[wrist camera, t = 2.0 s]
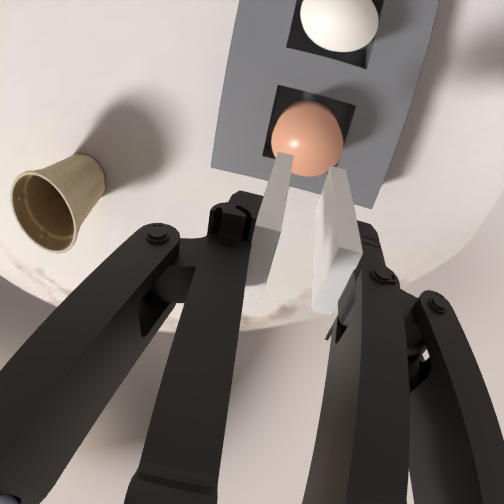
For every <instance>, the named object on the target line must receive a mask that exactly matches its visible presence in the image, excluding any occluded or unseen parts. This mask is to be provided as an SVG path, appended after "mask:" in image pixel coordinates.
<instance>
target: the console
mask: <svg viewBox="0 0 504 504" xmlns="http://www.w3.org/2000/svg"><path fill="white" fill-rule="evenodd" d="M303 1H304V0H239V5H238V10H237V15H236V19H235V24H234V30H233V35H232V40H231V45H230V50H229V56H228V61H227V67H226V73H225V78H224V84H223V90H222V96H221V102H220V108H219V114H218V121H217V127H216V134H215V141H214V147H213V154H212V161H211V168H215V169H219V170H224V171H228V172H233V173H237V174H242V175H246V176H250V177H254V178H258V179H263V180H267V181H269V178H270V175H271V172H272V169H273V166H274V162H275V159H276V157H275V156H274V153H273V150H272V145H271V139H272V133H273V130H274V128H275V126H276V124H277V121H278V119H279V117H280V115H281V113H282V112H283V110H284V109H285V108H286V107H287V106H289V105H290V104H292V103H294V102H296V101H300V100H314V101H318V102H320V103H322V104H324V105H326V106H327V107H328V108H329V109H330V110H331V111H332V112H333V113H334V115H335V117H336V119H337V121H338V124H339V127H340V130H341V134H342V137H343V151H342V154H341V157H340V159H339V161H338V162H337V163H336V165H335V166H334V167H337V168H341V169H344V170H346V173H347V178H348V182H349V186H350V191H351V195H352V200H353V204H355V205H359V206H362V207H366V208H369V209H372V208H373V205H374V203H375V200H376V198H377V196H378V193H379V191H380V188H381V185H382V183H383V180H384V178H385V175H386V173H387V170H388V167H389V165H390V162H391V159H392V157H393V154H394V151H395V148H396V146H397V143H398V140H399V137H400V134H401V132H402V129H403V126H404V123H405V120H406V117H407V114H408V111H409V108H410V105H411V102H412V99H413V95H414V92H415V89H416V86H417V83H418V79H419V76H420V72H421V69H422V66H423V62H424V59H425V55H426V51H427V48H428V44H429V40H430V36H431V32H432V28H433V24H434V20H435V16H436V12H437V7H438V3H439V0H371V1H372V2H373V4H374V6H375V8H376V10H377V14H378V29H377V32H376V34H375V36H374V38H373V39H372V40H371V41H370V42H369V43H368V44H367V45H366V46H364V47H362V48H360V49H358V50H355V51H350V52H337V51H330V50H327V49H324V48H322V47H320V46H318V45H316V44H315V43H314V42H313V41H312V40H311V39H310V38H309V37H308V36H307V34H306V32H305V30H304V28H303V25H302V21H301V16H300V11H301V6H302V3H303ZM327 174H328V171H327V172H326V173H323V174H321V175H317V176H310V177H307V176H300V175H296V174H294V173H291V177H290V183H289V186H290V187H294V188H298V189H302V190H306V191H309V192H313V193H317V194H320V195H321V193H322V190H323V187H324V184H325V181H326V177H327Z"/></svg>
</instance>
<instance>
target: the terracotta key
mask: <svg viewBox="0 0 504 504" xmlns="http://www.w3.org/2000/svg"><path fill="white" fill-rule="evenodd" d="M271 145H272V150H273V153H274V156H275V157H276V156H277V153H278V152H282V153H286V154H290V155H294V159H293V165H292V171H291V173H294V174H296V175H300V176H307V177H310V176H317V175H321V174H323V173H326V172H327V171H329V168H330V165H331V166H335V165H336V163H337V162H338V161H339V159H340V157H341V154H342V151H343V137H342V134H341V130H340V127H339V124H338V121H337V119H336V117H335V115H334V113H333V112H332V111H331V110H330V109H329V108H328V107H327V106H326V105H324V104H322V103H320V102H318V101H314V100H300V101H296V102H294V103H292V104H290V105H289V106H287V107H286V108H285V109H284V110H283V112H282V113H281V115H280V117H279V119H278V121H277V124H276V126H275V128H274V130H273V133H272V139H271Z"/></svg>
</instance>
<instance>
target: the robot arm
mask: <svg viewBox="0 0 504 504" xmlns="http://www.w3.org/2000/svg"><path fill="white" fill-rule="evenodd" d="M293 159H294V155H290V154H286V153H282V152H278V153H277V156H276V159H275V162H274V166H273V169H272V172H271V175H270V178H269V182H268V185H267V188H266V191H265V194H264V196H261V195H257V194H253V193H249V192H244V191H238V192H236V193H235V194H233V195H232V196H231V198H230V200H229V202H226V203H219V204H217V205H215V206H213V207H212V209H211V210H210V216H209V224H208V232H207V236H205V237H202V238H194V239H187V238H180V234H179V232H178V231H177V230H176V228H174V227H172V226H170V225H168V224H163V223H151V224H148V225H144V226H143V227H141V228H139V229H138V230H137V231H136V232H135V233H134V234H133V235H131V236H130V237H129V238H128V239H127V240H126V241H125V242H124V243H123V244H122V245H120V246H119V247H118V248H117V249H116V250H115V251H114V252H113V253H112V254H111V255H110V256H109V257H108V258H107V259H105V260H104V261H103V262H102V263H101V264H100V265H99V266H98V267H97V268H96V269H95V270H94V271H93V272H92V273H91V274H90V275H89V276H88V277H87V278H86V279H85V280H84V281H83V282H82V283H81V284H80V285H79V286H78V287H77V288H76V289H75V290H74V291H73V292H72V293H71V294H70V295H69V296H68V297H67V298H66V299H65V300H64V301H63V302H62V303H61V304H60V305H59V306H58V307H57V308H56V309H55V310H54V311H53V312H52V314H50V316H49V317H48V318H47V319H46V320H45V321H44V322H43V323H42V324H41V325H40V326H39V327H38V329H37V330H36V331H35V332H34V333H33V334H32V335H31V336H30V337H29V338H28V340H27V341H26V342H25V343H24V344H23V345H22V346H21V347H20V349H19V350H18V351H17V352H16V353H15V354H14V355H13V357H12V358H11V359H10V360H9V361H8V362H7V364H6V365H5V366H4V367H3V368H2V370H1V371H0V504H40V502H41V501H42V500H43V499H44V498H45V497H46V496H47V494H48V493H49V492H50V490H51V489H52V488H53V486H54V485H55V484H56V482H57V480H58V479H59V477H60V476H61V474H62V472H63V471H64V469H65V468H66V466H67V465H68V463H69V462H70V460H71V458H72V457H73V455H74V454H75V452H76V451H77V449H78V447H79V446H80V445H81V443H82V441H83V440H84V438H85V437H86V435H87V434H88V432H89V431H90V429H91V428H92V426H93V425H94V423H95V422H96V420H97V418H98V417H99V415H100V414H101V413H102V411H103V410H104V408H105V406H106V405H107V404H108V402H109V401H110V399H111V398H112V396H113V395H114V393H115V392H116V390H117V389H118V387H119V386H120V384H121V383H122V381H123V380H124V379H125V377H126V376H127V374H128V373H129V371H130V370H131V368H132V367H133V366H134V364H135V362H136V361H137V360H138V358H139V357H140V355H141V354H142V352H143V351H144V350H145V348H146V347H147V345H148V344H149V342H150V341H151V340H152V338H153V337H154V335H155V334H156V332H157V331H158V330H159V328H160V327H161V325H162V324H163V323H164V321H165V320H166V318H167V317H168V315H169V314H170V313H171V311H172V310H173V308H174V307H175V305H176V303H184V307H183V310H182V313H181V316H180V320H179V323H178V326H177V329H176V333H175V336H174V340H173V343H172V346H171V349H170V353H169V356H168V360H167V364H166V367H165V370H164V374H163V377H162V381H161V384H160V388H159V392H158V395H157V399H156V402H155V406H154V410H153V413H152V417H151V421H150V425H149V429H148V432H147V437H146V441H145V444H144V448H143V452H142V456H141V460H140V464H139V467H138V469H137V471H136V473H135V474H134V476H133V477H132V479H131V482H130V484H129V486H128V490H127V493H126V497H125V501H124V504H217V497H218V496H217V495H218V494H217V487H218V477H219V469H220V463H221V455H222V448H223V441H224V434H225V427H226V420H227V412H228V405H229V398H230V391H231V384H232V376H233V369H234V362H235V355H236V348H237V341H238V334H239V327H240V320H241V313H242V306H243V299H244V294H246V295H250V296H254V297H258V298H262V296H263V292H264V289H265V285H266V282H267V278H268V275H269V272H270V268H271V265H272V261H273V258H274V254H275V251H276V247H277V244H278V240H279V237H280V233H281V229H282V223H283V217H284V212H285V206H286V200H287V194H288V189H289V183H290V177H291V171H292V165H293ZM337 305H338V316H337V317H336V319H335V321H334V323H333V325H332V326H331V328H330V330H329V332H328V334H327V336H326V338H325V340H328V339H329V337H330V336H331V335H332V336H331V344H330V352H329V360H328V367H327V375H326V382H325V388H324V395H323V401H322V407H321V413H320V419H319V425H318V430H317V436H316V441H315V446H314V452H313V456H312V461H311V466H310V471H309V476H308V480H307V485H306V489H305V493H304V498H303V502H302V504H407V502H406V501H407V500H406V498H407V486H408V471H409V472H410V478H411V484H412V490H413V498H414V504H504V440H503V436H502V433H501V429H500V426H499V423H498V420H497V416H496V413H495V411H494V408H493V404H492V401H491V399H490V396H489V393H488V390H487V387H486V385H485V382H484V379H483V377H482V374H481V372H480V369H479V367H478V364H477V362H476V359H475V357H474V354H473V352H472V350H471V347H470V345H469V343H468V341H467V338H466V336H465V334H464V331H463V329H462V327H461V325H460V323H459V321H458V319H457V317H456V314H455V312H454V310H453V308H452V306H451V305H450V303H449V302H448V300H446V299H445V298H444V296H442V295H441V294H439V293H437V292H434V291H431V290H427V291H424V292H422V294H421V295H420V296H419V298H416V297H414V296H413V295H411V294H409V293H407V292H405V291H403V290H402V289H400V283H399V280H398V278H397V276H396V275H395V274H394V272H393V271H391V270H390V269H389V268H387V267H386V265H385V261H384V257H383V253H382V249H381V245H380V242H379V237H378V233H377V232H376V230H375V229H374V228H373V226H372V225H371V224H368V223H365V222H361V221H358V220H357V219H356V214H355V209H354V205H353V200H352V195H351V191H350V186H349V182H348V178H347V173H346V170H344V169H341V168H337V167H334V166H331V165H330V168H329V171H328V174H327V177H326V181H325V184H324V187H323V190H322V193H321V196H320V199H319V202H318V205H317V208H316V211H315V214H314V257H313V284H312V305H311V310H312V311H316V312H320V313H325V314H329V315H332V314H333V313H334V311H335V309H336V307H337ZM426 349H427V350H428V353H429V356H430V357H429V358H428V359H427V360H426V361H425V360H424V358H423V355H422V354H423V353H424V352H425V351H426Z"/></svg>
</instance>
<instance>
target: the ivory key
mask: <svg viewBox="0 0 504 504" xmlns="http://www.w3.org/2000/svg"><path fill="white" fill-rule="evenodd" d="M300 16H301V21H302V25H303V28H304V30H305V32H306V34H307V36H308V37H309V38H310V39H311V40H312V41H313V42H314V43H315V44H316V45H318V46H320V47H322V48H324V49H327V50H330V51H337V52H350V51H355V50H358V49H360V48H362V47H364V46H366V45H367V44H368V43H369V42H370V41H371V40H372V39H373V38H374V36H375V34H376V32H377V29H378V14H377V10H376V8H375V6H374V4H373V2H372V1H371V0H304V1H303V3H302V6H301V11H300Z"/></svg>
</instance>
